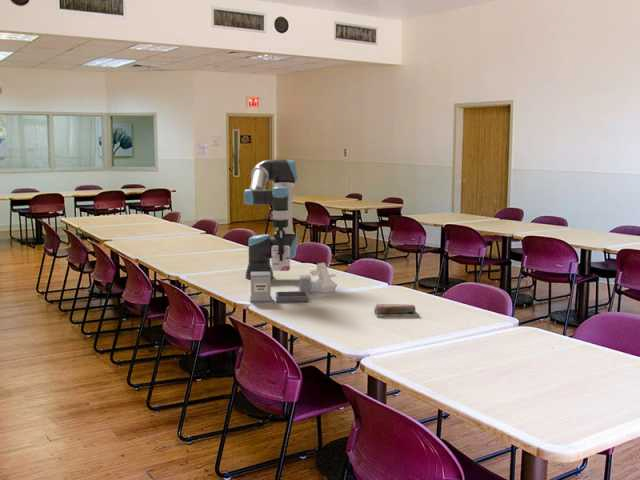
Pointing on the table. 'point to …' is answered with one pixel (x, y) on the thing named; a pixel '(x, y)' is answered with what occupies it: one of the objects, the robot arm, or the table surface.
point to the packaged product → (395, 310)
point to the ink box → (275, 258)
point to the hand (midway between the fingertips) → (280, 265)
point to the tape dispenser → (323, 280)
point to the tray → (292, 296)
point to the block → (305, 283)
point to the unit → (260, 287)
